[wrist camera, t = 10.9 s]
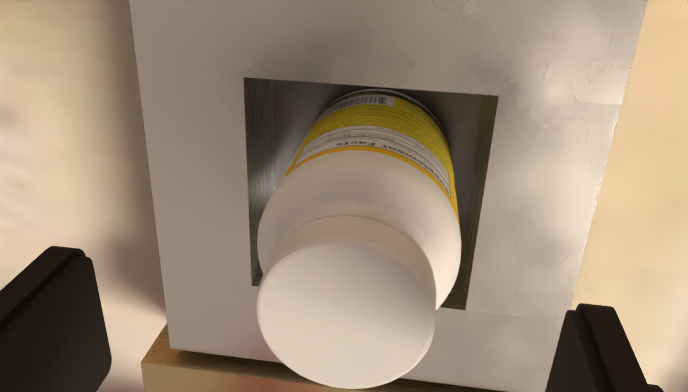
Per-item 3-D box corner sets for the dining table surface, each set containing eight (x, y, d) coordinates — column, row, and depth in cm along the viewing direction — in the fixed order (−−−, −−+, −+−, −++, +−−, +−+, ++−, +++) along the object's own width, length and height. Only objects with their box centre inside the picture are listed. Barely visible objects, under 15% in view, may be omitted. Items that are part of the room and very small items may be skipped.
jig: (148, -158, 19) (59, -181, 14) (664, -143, 17) (746, -166, 13) (194, 333, 28) (148, 413, 23) (540, 376, 26) (562, 471, 21)
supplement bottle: (395, 247, 23) (371, 449, 14) (279, 170, 22) (178, 333, 13) (484, 142, 21) (522, 306, 12) (358, 53, 20) (299, 157, 11)
